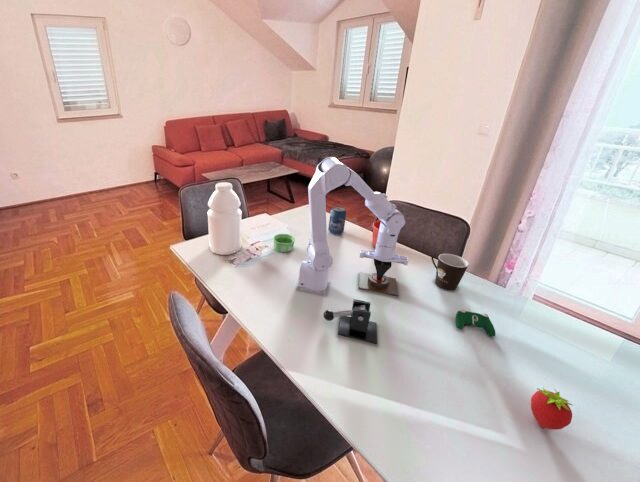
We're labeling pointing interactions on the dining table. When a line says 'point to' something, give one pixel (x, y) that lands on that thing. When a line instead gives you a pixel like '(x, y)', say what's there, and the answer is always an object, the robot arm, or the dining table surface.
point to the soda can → (337, 220)
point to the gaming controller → (474, 321)
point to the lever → (341, 313)
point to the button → (378, 280)
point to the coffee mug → (449, 271)
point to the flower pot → (376, 231)
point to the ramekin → (283, 242)
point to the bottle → (224, 220)
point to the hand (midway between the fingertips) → (378, 278)
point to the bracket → (359, 324)
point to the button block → (378, 284)
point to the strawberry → (550, 410)
